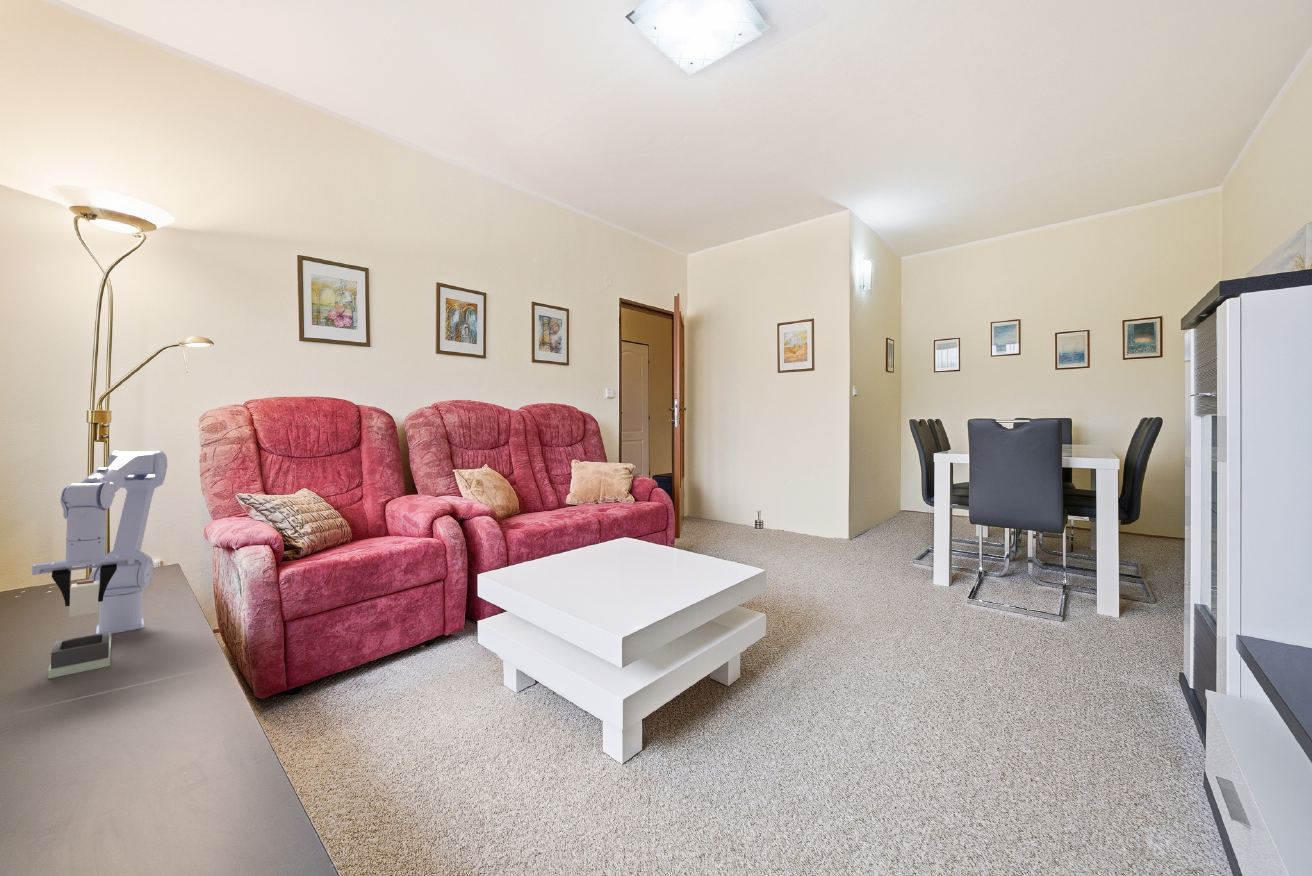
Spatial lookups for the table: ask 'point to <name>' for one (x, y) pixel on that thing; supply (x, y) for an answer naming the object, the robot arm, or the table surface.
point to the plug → (84, 598)
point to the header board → (80, 654)
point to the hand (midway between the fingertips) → (84, 603)
